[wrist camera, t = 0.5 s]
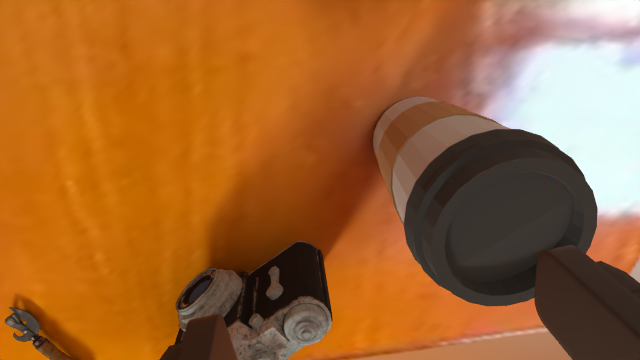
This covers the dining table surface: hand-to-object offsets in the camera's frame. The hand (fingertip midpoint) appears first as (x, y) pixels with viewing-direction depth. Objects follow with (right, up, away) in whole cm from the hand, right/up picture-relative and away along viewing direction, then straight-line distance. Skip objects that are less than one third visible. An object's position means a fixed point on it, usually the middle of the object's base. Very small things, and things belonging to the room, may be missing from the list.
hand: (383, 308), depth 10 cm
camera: (-9, -5, +25) cm, 27 cm away
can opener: (-25, -11, +25) cm, 37 cm away
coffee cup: (+5, +7, +21) cm, 23 cm away
